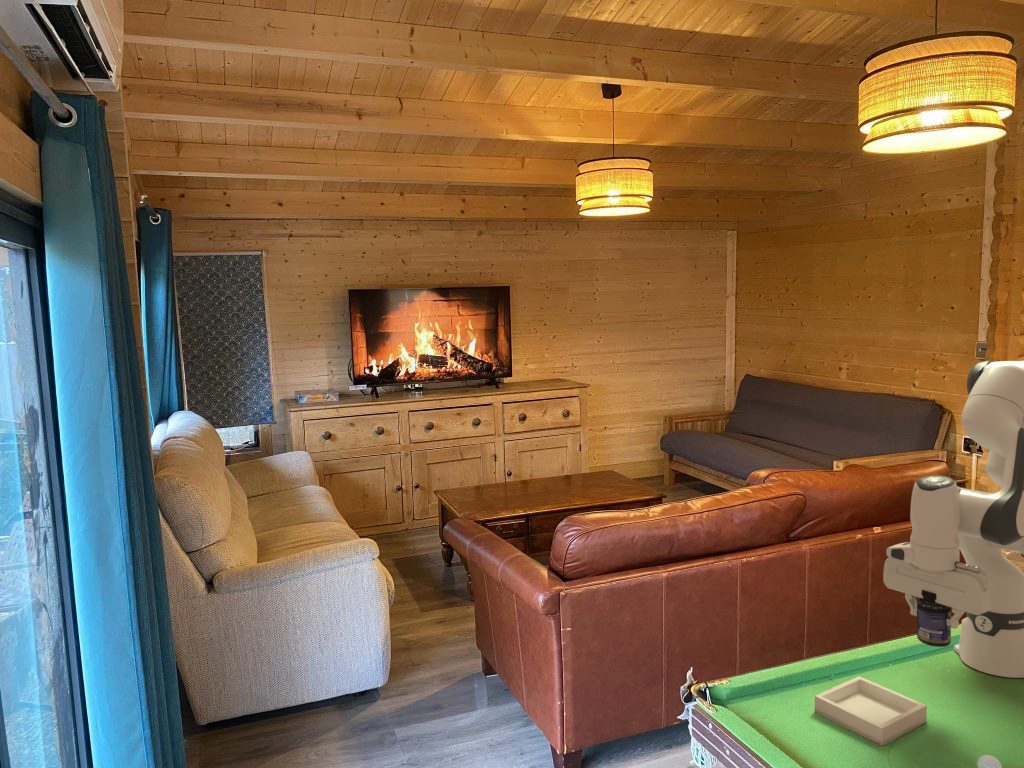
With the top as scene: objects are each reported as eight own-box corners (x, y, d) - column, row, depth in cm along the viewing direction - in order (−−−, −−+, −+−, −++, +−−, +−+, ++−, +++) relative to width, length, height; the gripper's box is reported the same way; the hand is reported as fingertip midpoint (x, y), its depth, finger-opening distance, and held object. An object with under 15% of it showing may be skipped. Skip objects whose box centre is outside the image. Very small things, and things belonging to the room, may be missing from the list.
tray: (859, 691, 162) (859, 676, 161) (926, 722, 149) (926, 705, 149) (814, 711, 154) (814, 695, 154) (882, 745, 141) (882, 728, 141)
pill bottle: (955, 648, 149) (955, 595, 148) (922, 647, 150) (922, 594, 149) (944, 635, 155) (944, 584, 154) (912, 634, 156) (912, 583, 155)
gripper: (996, 566, 143) (995, 634, 145) (896, 541, 161) (896, 602, 162) (979, 573, 140) (978, 642, 141) (879, 547, 158) (879, 609, 159)
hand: (933, 621), depth 152 cm, fingers closed on pill bottle, 6 cm apart
